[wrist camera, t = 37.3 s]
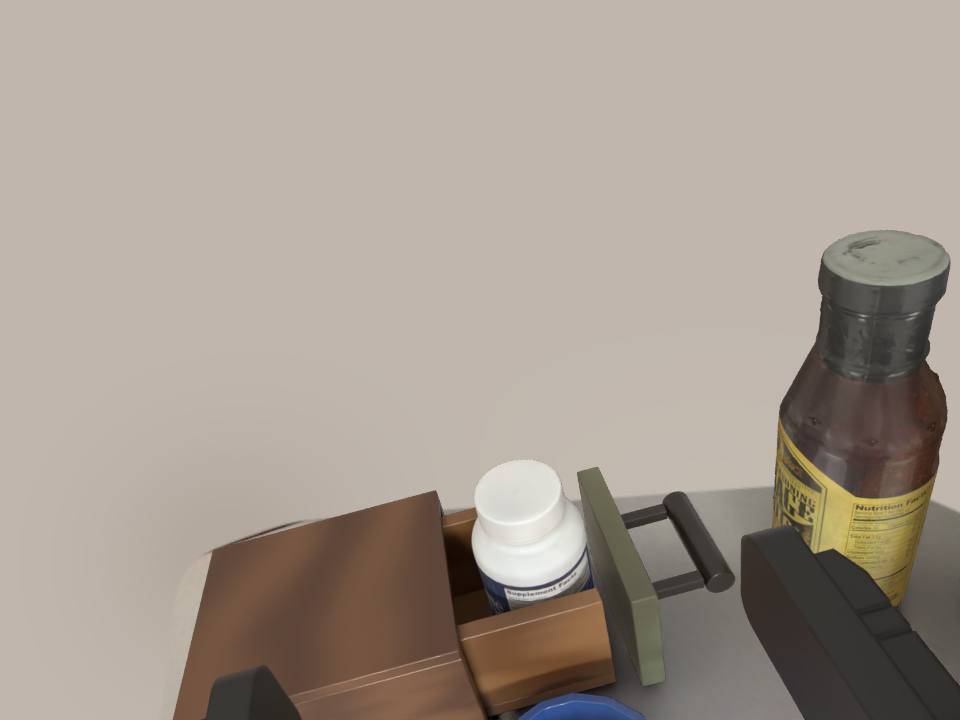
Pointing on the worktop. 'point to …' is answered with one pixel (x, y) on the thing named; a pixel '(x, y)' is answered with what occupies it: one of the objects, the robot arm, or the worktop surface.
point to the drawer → (576, 605)
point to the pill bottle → (528, 537)
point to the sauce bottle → (866, 407)
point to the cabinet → (339, 619)
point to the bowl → (581, 709)
